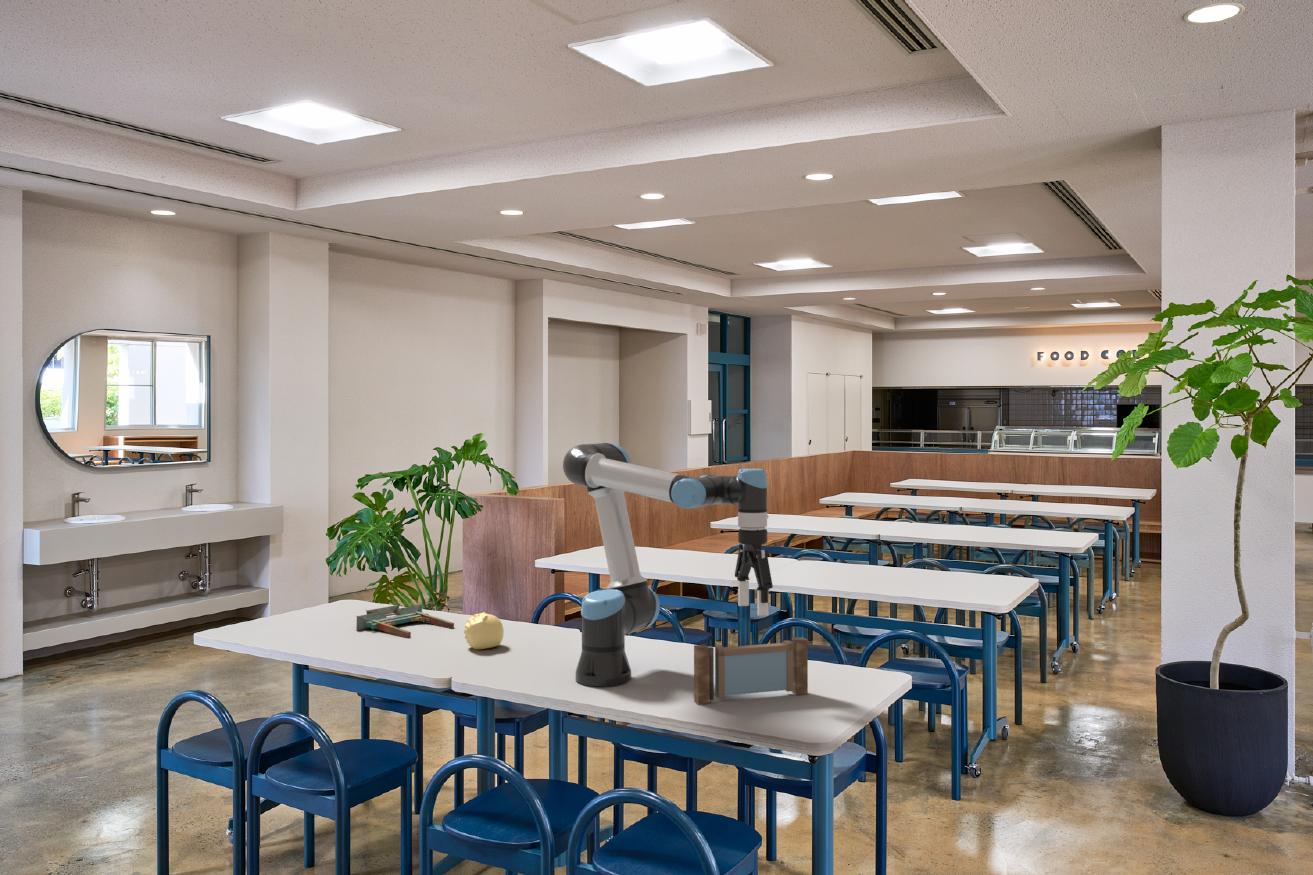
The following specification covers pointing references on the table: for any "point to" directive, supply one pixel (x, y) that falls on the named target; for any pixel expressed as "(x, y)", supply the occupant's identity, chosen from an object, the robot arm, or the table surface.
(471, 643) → the sculpture
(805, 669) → the gate posts
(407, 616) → the miniature gate
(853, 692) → the table surface
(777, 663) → the gate leaf
